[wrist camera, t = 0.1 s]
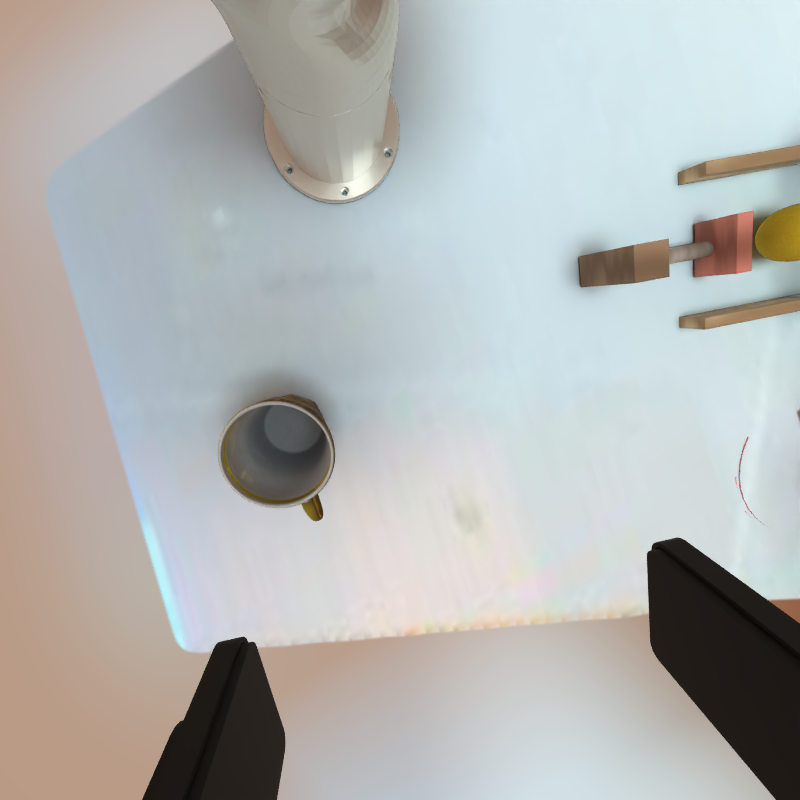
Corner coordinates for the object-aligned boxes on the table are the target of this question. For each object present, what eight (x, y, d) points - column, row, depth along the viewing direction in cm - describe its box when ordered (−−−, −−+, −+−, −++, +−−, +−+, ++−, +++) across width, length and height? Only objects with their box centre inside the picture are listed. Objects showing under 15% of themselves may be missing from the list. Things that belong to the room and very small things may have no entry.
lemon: (744, 274, 46) (821, 268, 39) (729, 228, 45) (806, 212, 37) (787, 248, 46) (873, 237, 38) (774, 202, 45) (861, 181, 37)
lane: (678, 172, 43) (706, 161, 40) (783, 154, 44) (820, 141, 40) (679, 327, 47) (705, 329, 44) (776, 308, 48) (809, 309, 44)
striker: (578, 245, 44) (633, 230, 35) (708, 221, 44) (794, 201, 36) (581, 298, 45) (635, 296, 36) (708, 274, 46) (790, 267, 37)
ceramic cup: (231, 403, 44) (195, 431, 34) (314, 364, 44) (302, 381, 34) (287, 501, 47) (269, 552, 38) (366, 465, 47) (367, 507, 38)
